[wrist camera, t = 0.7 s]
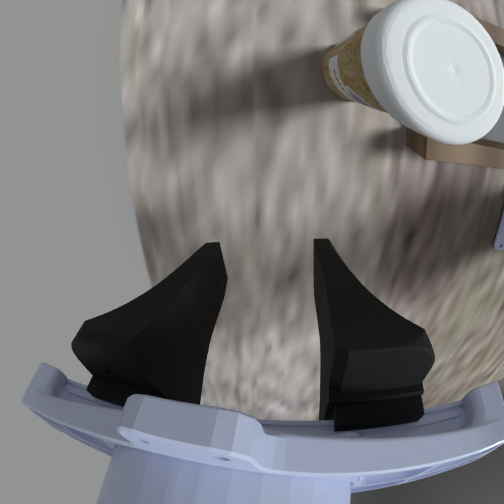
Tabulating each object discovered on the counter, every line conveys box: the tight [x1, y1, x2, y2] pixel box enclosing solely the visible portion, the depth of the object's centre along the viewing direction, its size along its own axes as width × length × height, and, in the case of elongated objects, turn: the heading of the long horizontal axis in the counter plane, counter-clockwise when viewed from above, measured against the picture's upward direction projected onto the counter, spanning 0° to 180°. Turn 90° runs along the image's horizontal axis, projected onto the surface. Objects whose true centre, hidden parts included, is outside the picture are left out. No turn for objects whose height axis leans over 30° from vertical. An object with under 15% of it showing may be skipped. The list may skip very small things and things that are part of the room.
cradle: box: [407, 16, 504, 169], centre depth 12 cm, size 13×11×4 cm
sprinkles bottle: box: [322, 0, 504, 145], centre depth 10 cm, size 5×5×13 cm
